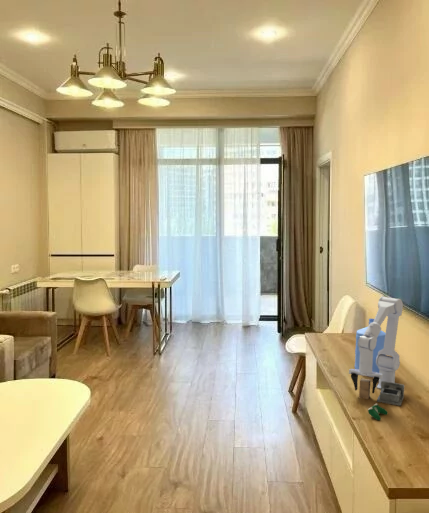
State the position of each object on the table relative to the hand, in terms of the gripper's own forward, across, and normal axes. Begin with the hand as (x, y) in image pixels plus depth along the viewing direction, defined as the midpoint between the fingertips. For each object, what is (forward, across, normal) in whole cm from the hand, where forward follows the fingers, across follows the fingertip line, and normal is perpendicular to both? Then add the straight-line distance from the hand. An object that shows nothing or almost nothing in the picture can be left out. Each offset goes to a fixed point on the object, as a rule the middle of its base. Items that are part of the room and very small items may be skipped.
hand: (364, 391), depth 231 cm
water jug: (+3, -5, +42) cm, 42 cm away
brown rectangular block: (+3, 0, 0) cm, 3 cm away
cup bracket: (+3, +11, +2) cm, 12 cm away
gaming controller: (+3, +9, -19) cm, 21 cm away
